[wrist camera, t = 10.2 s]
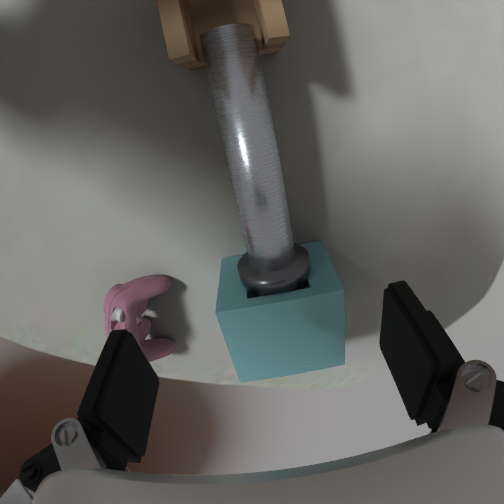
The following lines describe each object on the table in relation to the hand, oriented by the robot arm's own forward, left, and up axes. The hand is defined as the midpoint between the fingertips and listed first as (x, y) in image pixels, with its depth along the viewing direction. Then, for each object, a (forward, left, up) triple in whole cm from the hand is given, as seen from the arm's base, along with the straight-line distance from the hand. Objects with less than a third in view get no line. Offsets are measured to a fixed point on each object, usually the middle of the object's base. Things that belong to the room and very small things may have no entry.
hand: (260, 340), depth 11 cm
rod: (0, +1, -15) cm, 15 cm away
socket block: (+9, +1, -17) cm, 19 cm away
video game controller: (+10, -13, -17) cm, 23 cm away
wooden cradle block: (-16, +1, -17) cm, 23 cm away
